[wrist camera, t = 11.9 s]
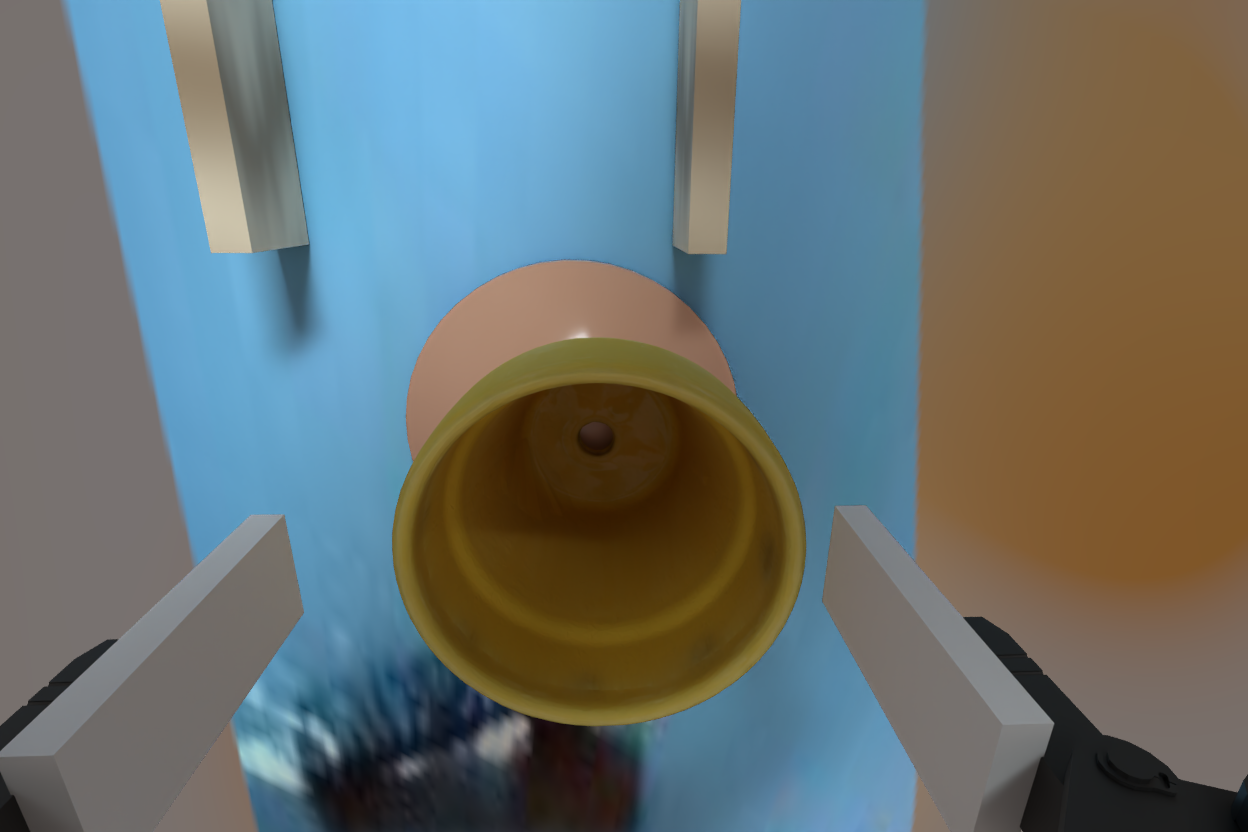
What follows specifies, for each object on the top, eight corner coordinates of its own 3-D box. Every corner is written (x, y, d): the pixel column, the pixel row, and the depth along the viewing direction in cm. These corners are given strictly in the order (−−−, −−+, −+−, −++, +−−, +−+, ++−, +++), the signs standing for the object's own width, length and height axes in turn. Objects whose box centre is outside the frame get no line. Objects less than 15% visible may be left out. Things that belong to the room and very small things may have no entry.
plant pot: (465, 540, 26) (393, 728, 17) (466, 287, 23) (378, 346, 13) (711, 552, 27) (775, 738, 17) (747, 310, 23) (849, 380, 14)
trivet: (462, 206, 22) (457, 206, 22) (786, 328, 24) (793, 332, 24) (377, 513, 26) (371, 522, 25) (665, 596, 28) (667, 607, 27)
